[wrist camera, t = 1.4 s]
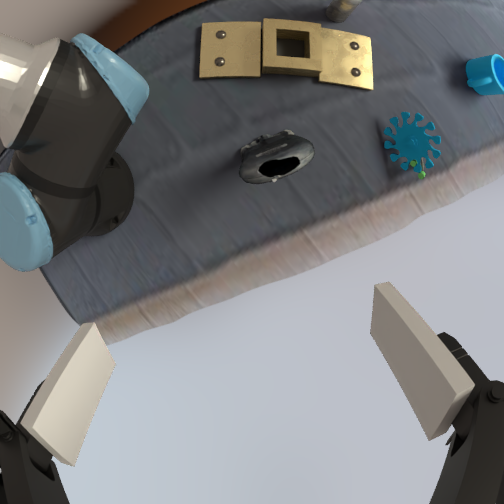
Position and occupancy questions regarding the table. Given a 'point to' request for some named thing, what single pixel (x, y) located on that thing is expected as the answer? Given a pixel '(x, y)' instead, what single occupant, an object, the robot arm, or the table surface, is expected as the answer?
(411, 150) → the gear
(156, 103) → the table surface
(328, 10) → the hinge pin
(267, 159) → the electronic device
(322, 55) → the hinge leaves
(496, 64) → the mug
